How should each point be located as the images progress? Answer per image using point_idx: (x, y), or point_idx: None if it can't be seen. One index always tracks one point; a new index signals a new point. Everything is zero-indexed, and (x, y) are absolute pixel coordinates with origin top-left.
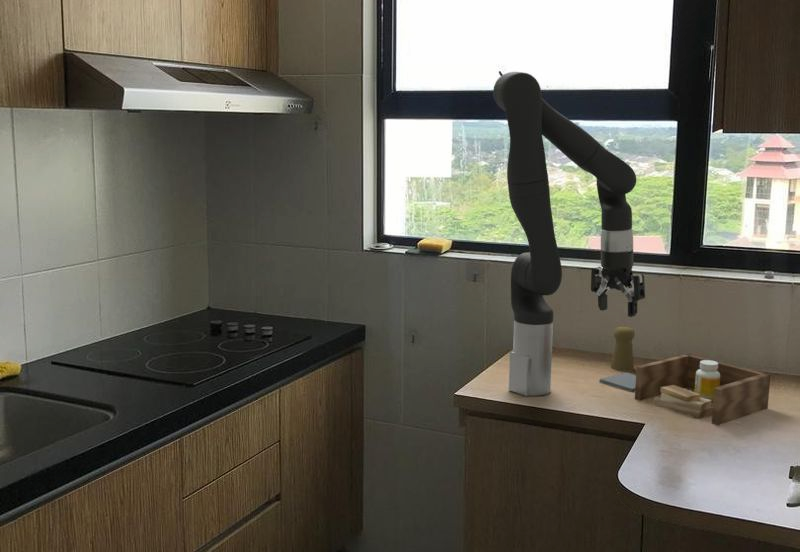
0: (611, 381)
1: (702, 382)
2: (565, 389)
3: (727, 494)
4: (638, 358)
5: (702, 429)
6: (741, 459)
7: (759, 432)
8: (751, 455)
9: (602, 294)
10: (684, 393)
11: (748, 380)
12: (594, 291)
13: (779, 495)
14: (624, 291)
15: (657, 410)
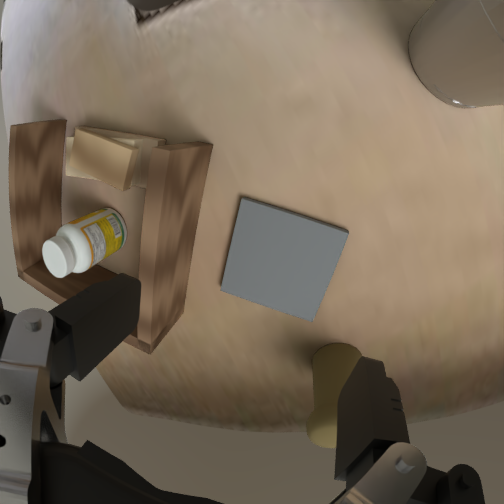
0: (312, 229)
1: (78, 220)
2: (395, 113)
3: None
4: None
5: (68, 83)
6: (26, 37)
7: None
8: (21, 57)
9: (368, 463)
10: (86, 146)
11: (11, 218)
12: (447, 472)
13: (8, 3)
14: (6, 370)
15: (145, 109)
